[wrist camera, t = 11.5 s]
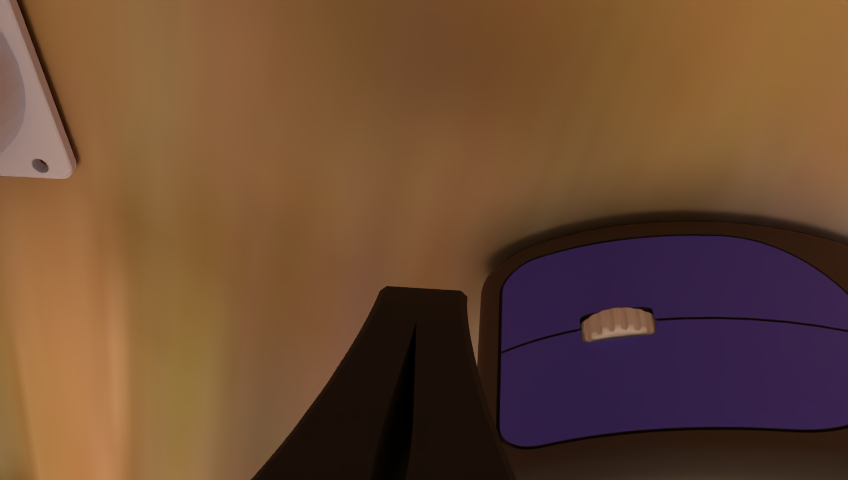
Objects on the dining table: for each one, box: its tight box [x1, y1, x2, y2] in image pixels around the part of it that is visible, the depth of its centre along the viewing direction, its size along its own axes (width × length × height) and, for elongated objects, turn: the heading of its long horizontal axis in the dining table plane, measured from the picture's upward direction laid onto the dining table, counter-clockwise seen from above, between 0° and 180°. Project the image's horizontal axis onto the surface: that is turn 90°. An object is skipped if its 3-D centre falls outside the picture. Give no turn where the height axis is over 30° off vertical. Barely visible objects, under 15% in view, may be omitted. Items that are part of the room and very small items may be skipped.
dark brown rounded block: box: [477, 221, 848, 480], centre depth 20 cm, size 16×5×9 cm, turn 84°
